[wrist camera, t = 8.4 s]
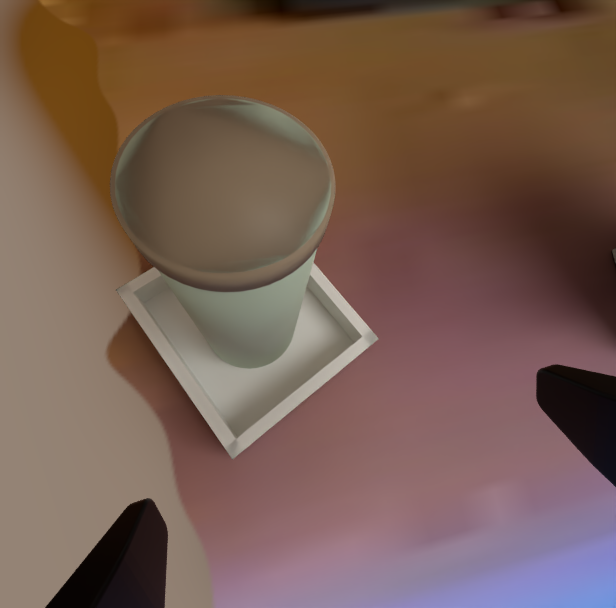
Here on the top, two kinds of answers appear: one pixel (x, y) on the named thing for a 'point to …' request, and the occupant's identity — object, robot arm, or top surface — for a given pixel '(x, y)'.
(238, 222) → the peg
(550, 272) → the top surface
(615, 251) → the skincare box
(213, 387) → the tray
